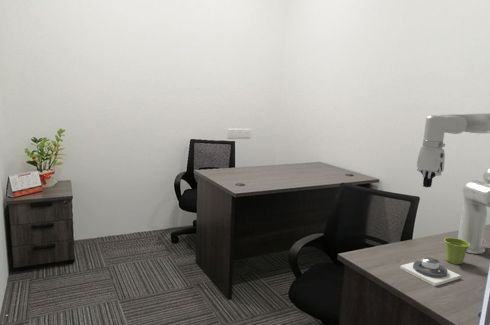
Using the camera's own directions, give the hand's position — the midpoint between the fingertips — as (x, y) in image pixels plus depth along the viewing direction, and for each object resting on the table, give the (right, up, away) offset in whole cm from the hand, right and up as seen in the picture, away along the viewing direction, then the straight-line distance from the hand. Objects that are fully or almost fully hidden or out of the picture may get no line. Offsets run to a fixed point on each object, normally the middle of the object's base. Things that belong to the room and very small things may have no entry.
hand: (426, 186), depth 158 cm
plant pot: (+9, -31, -5) cm, 33 cm away
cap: (-8, -31, -17) cm, 36 cm away
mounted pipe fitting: (-8, -32, -17) cm, 37 cm away
